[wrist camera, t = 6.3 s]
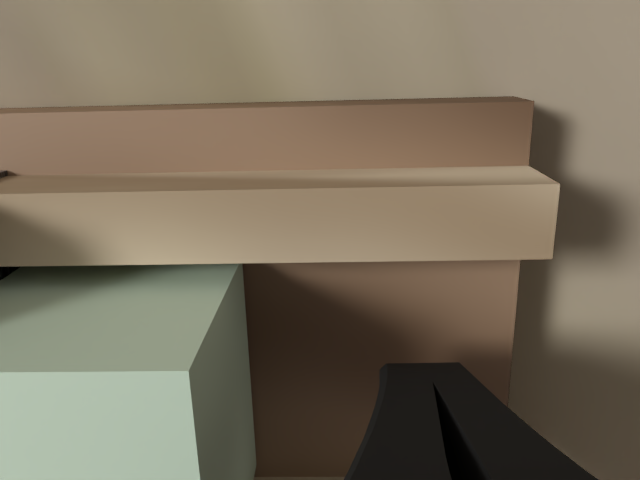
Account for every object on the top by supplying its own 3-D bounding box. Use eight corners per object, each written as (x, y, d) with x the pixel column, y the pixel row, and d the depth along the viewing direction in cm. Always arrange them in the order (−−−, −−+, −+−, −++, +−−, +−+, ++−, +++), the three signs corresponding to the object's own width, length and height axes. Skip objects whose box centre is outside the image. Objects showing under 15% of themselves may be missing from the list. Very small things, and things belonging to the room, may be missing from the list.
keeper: (256, 464, 12) (218, 655, 8) (69, 464, 12) (-55, 652, 8) (241, 257, 11) (188, 370, 7) (30, 260, 11) (-140, 373, 7)
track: (481, 520, 14) (560, 777, 9) (55, 519, 14) (-95, 766, 9) (513, 96, 11) (661, 131, 6) (-30, 109, 11) (-319, 151, 6)
